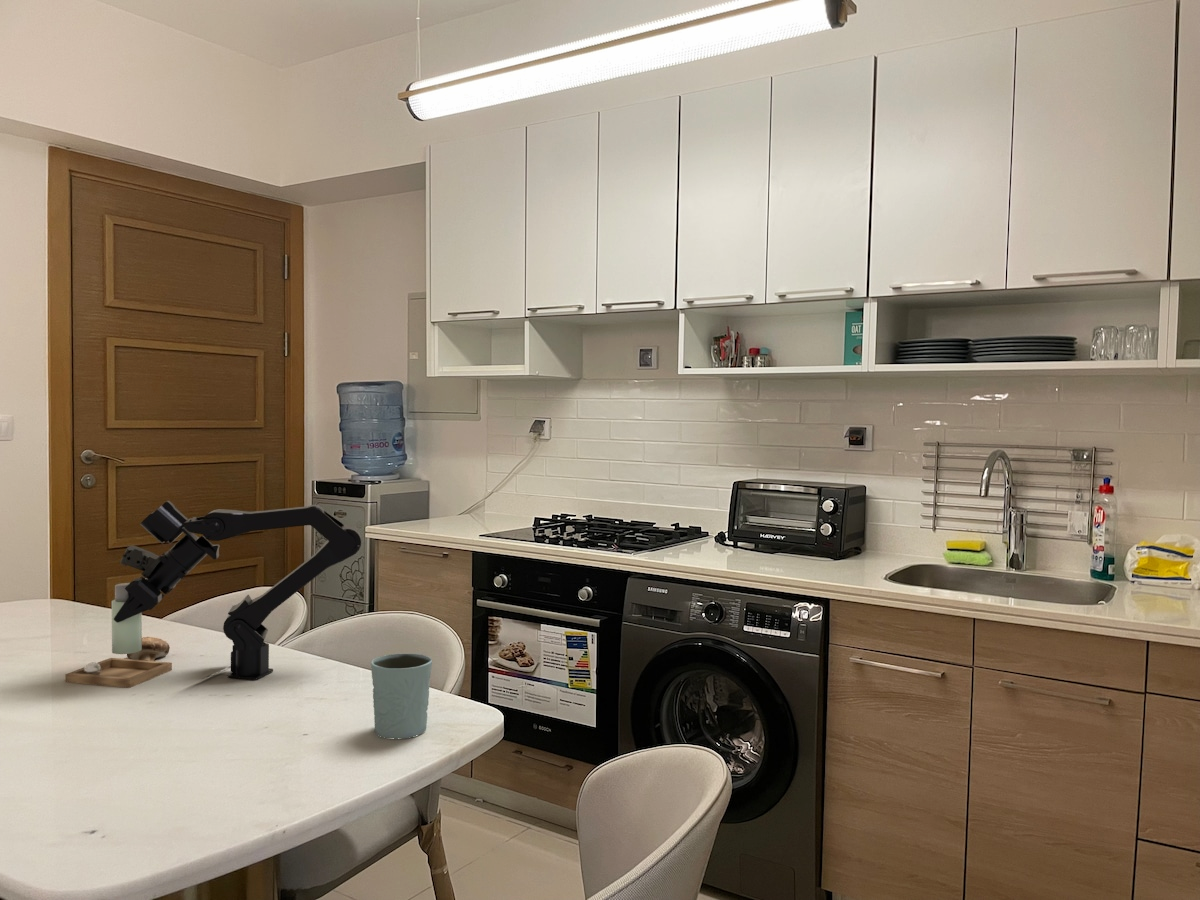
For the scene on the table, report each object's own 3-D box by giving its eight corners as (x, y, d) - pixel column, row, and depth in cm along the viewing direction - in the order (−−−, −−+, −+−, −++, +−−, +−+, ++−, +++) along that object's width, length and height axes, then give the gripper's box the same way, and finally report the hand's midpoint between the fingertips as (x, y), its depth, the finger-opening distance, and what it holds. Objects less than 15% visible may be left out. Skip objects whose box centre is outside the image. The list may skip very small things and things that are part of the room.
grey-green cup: (370, 742, 146) (371, 670, 146) (369, 722, 156) (370, 653, 156) (433, 738, 149) (434, 666, 149) (428, 717, 159) (429, 650, 158)
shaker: (146, 650, 176) (146, 584, 176) (118, 655, 172) (118, 588, 172) (134, 645, 179) (134, 581, 179) (107, 650, 175) (106, 584, 175)
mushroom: (154, 655, 183) (152, 627, 186) (118, 669, 183) (117, 641, 186) (178, 664, 190) (176, 637, 193) (143, 678, 190) (142, 650, 193)
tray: (171, 674, 181) (171, 662, 181) (130, 692, 169) (130, 679, 169) (110, 669, 184) (110, 657, 183) (65, 687, 172) (65, 674, 172)
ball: (105, 676, 176) (105, 661, 176) (93, 680, 173) (93, 665, 173) (91, 675, 176) (91, 660, 176) (80, 679, 173) (80, 664, 173)
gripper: (158, 525, 185) (99, 580, 182) (137, 538, 167) (71, 599, 164) (200, 562, 187) (142, 617, 185) (183, 578, 169) (119, 639, 167)
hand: (119, 617), depth 175 cm, fingers closed on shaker, 5 cm apart
